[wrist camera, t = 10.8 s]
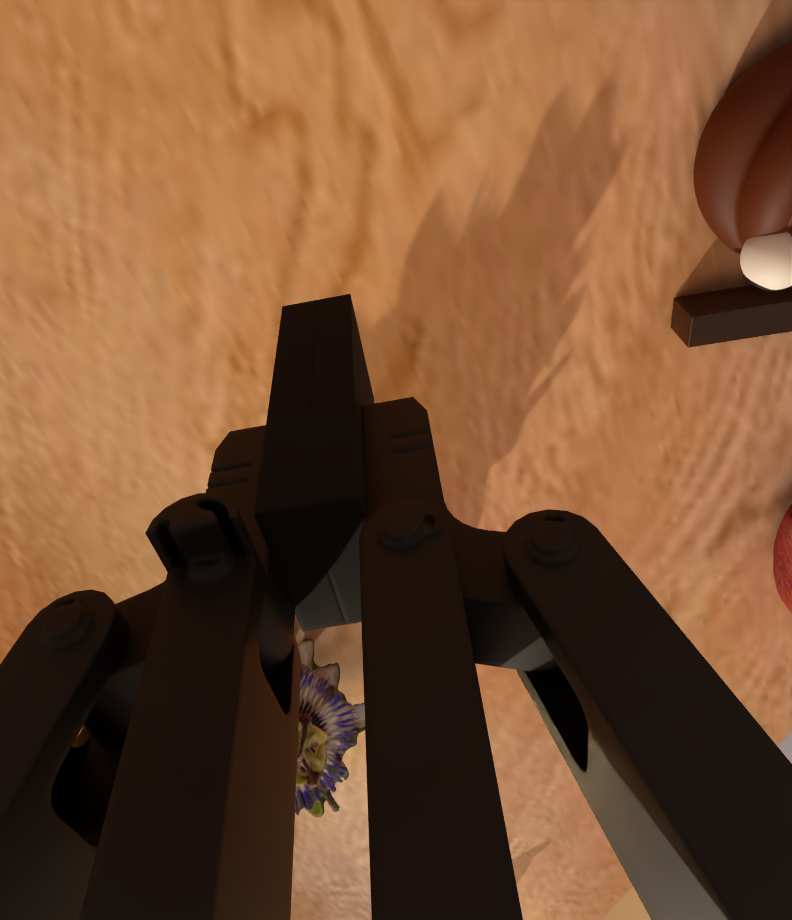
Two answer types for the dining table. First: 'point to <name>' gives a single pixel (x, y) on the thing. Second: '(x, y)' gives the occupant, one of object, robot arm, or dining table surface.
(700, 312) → the dark brown u-shaped frame
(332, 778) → the passion flower
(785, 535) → the fruit
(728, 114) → the poop emoji
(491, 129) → the dining table surface
